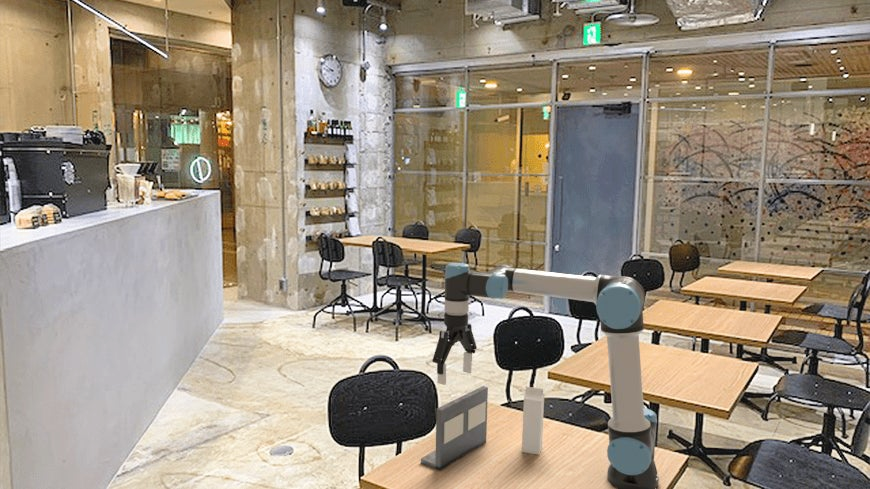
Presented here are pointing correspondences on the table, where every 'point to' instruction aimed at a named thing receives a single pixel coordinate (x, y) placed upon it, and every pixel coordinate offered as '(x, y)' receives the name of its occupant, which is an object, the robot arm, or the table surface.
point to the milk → (533, 420)
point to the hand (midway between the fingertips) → (454, 377)
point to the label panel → (459, 428)
